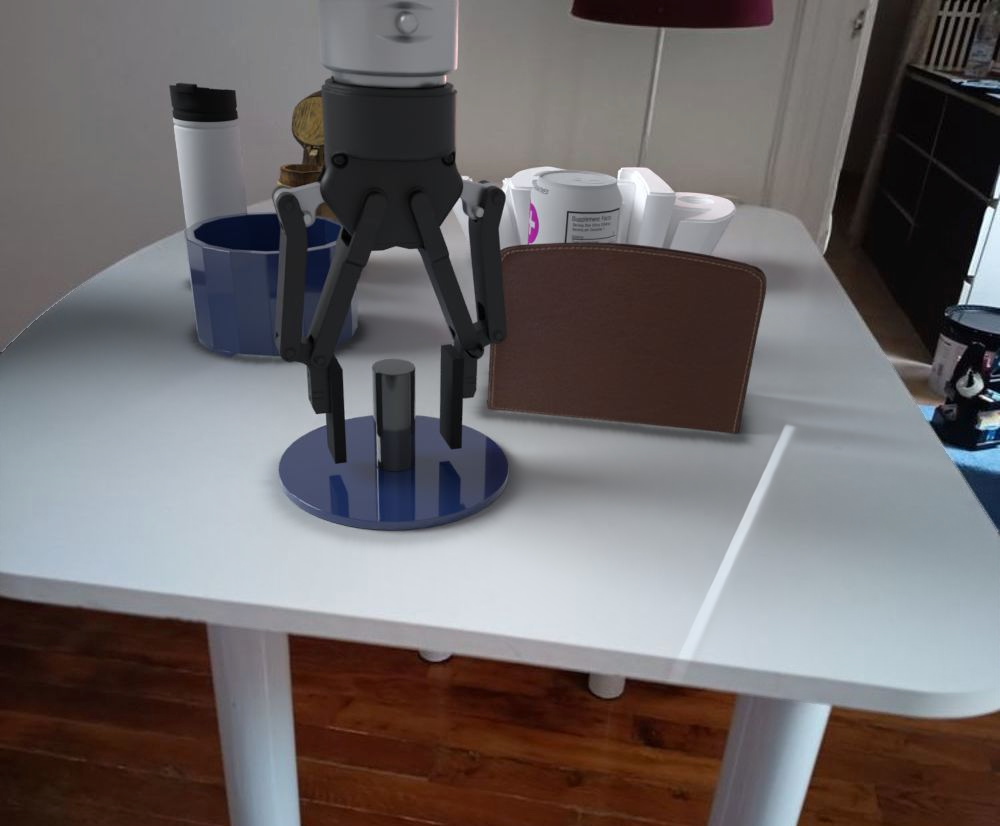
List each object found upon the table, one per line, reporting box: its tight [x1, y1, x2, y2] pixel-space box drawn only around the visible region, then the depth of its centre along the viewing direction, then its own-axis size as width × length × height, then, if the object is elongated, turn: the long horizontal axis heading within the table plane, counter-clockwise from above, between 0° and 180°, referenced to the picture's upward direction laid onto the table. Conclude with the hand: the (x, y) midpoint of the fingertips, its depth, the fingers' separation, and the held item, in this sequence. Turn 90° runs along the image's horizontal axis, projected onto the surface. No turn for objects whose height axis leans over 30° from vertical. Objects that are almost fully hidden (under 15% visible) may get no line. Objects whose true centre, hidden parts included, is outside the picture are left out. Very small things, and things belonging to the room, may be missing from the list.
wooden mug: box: [276, 89, 339, 221], centre depth 102 cm, size 9×14×18 cm, turn 178°
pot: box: [183, 211, 359, 358], centre depth 84 cm, size 15×15×10 cm
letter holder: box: [486, 242, 768, 435], centre depth 72 cm, size 10×20×14 cm, turn 82°
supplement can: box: [528, 169, 623, 244], centre depth 85 cm, size 8×8×15 cm
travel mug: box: [168, 82, 248, 229], centre depth 93 cm, size 6×7×20 cm
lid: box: [277, 358, 510, 531], centre depth 61 cm, size 16×16×8 cm
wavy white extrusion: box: [452, 166, 737, 256], centre depth 107 cm, size 35×16×11 cm, turn 88°
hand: (394, 446), depth 62 cm, fingers open, 7 cm apart
